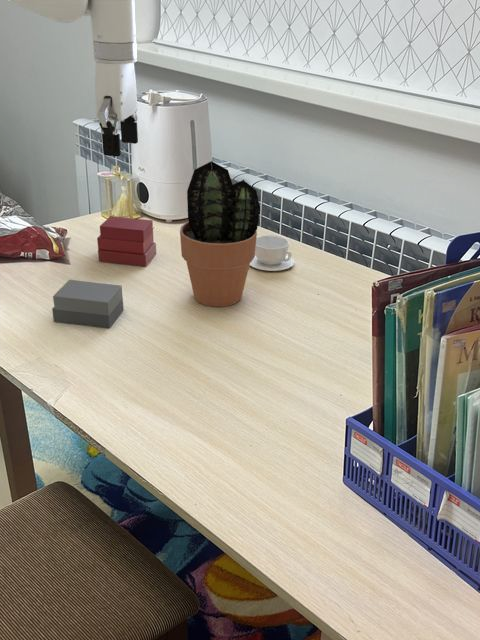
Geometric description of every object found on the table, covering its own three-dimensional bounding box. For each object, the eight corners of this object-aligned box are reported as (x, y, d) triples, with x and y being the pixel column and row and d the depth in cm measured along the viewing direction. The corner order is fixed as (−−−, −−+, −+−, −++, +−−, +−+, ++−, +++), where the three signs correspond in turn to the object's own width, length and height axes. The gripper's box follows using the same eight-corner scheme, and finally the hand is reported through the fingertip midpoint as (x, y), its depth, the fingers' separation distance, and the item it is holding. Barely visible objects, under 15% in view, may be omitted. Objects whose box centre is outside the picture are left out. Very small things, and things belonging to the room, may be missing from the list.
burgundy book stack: (98, 261, 141) (96, 238, 138) (110, 248, 146) (108, 226, 144) (146, 266, 139) (144, 243, 137) (156, 253, 145) (155, 231, 143)
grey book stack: (53, 322, 118) (49, 295, 115) (70, 303, 124) (67, 278, 122) (109, 328, 117) (107, 302, 114) (124, 310, 123) (122, 284, 120)
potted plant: (216, 320, 121) (217, 179, 108) (166, 295, 129) (161, 160, 116) (269, 297, 130) (276, 164, 117) (219, 274, 137) (220, 148, 125)
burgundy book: (100, 237, 138) (99, 226, 137) (111, 227, 143) (110, 216, 142) (143, 242, 137) (143, 230, 136) (153, 231, 142) (152, 220, 141)
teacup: (236, 263, 143) (237, 242, 140) (265, 249, 150) (266, 229, 147) (275, 277, 138) (276, 255, 135) (303, 262, 144) (305, 241, 142)
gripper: (112, 44, 131) (118, 136, 139) (75, 57, 116) (84, 159, 125) (150, 47, 130) (154, 139, 138) (118, 60, 115) (124, 162, 124)
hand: (121, 149), depth 132 cm, fingers open, 9 cm apart
